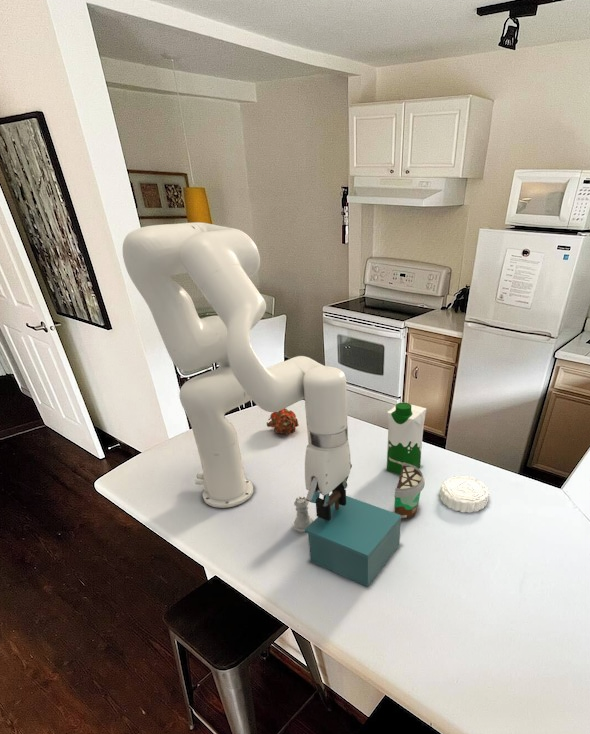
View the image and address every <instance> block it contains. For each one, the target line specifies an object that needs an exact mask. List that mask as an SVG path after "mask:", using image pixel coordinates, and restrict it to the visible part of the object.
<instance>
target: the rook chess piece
mask: <svg viewBox="0 0 590 734" xmlns="http://www.w3.org/2000/svg"><path fill="white" fill-rule="evenodd" d="M309 503H310V502H309V501H306V496H298V497H296V498H295V500H294V502H293V505H294V506H295V510H296V516H295V519H294V521H293V524H294V525H293V528H294V529H295V530H296V532H299V533H305V529H306V528H307V527H308V526H309V525H310V524H311V523H312V522H313V521H314V520H313V519H312V518H311V516H310V515H309V511H308V510H309V507H308V505H309Z"/></svg>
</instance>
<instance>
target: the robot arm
mask: <svg viewBox="0 0 590 734" xmlns="http://www.w3.org/2000/svg"><path fill="white" fill-rule="evenodd" d="M122 258H123V263H124V266H125V269H126V272H127V274H128V276H129V278H130V280H131V282H132V284H133V285H134V286H135V288H136V290H137V291H138V292H139V294H140V295H141V297H142V298H143V300H144V302H145V303H146V305H147V306H148V309H149V310H150V312H151V315H152V319H153V320H154V323H155V325H156V328H157V330H158V332H159V335H160V337H161V339H162V341H163V344H164V347H165V349H166V352H167V353H168V356H169V358H170V360H171V361H172V363H173V365H174V366H175V367H176V368H177V369H179V370H180V371H183V372H191V371H195V370H199V369H201V368H204V367H207V366H210V365H213V364H216V363H217V365H218V368H215V369H213V370H209V371H207V372H204V373H201V374H199V375H196V376H194V377H192V378H190V379H189V380H187V381H186V382H184V383H183V384H182V385H181V387H180V389H179V393H178V396H179V397H178V398H179V400H180V404H181V406H182V408H183V410H184V412H185V415H186V416H187V419H188V421H189V424H190V427H191V430H192V433H193V437H194V441H195V445H196V449H197V452H198V456H199V460H200V464H201V469H202V471H198V472H196V475H195V476H196V477H195V478H196V479H195V480H194V483H195V485H198V486H202V487H203V490H202V492H201V493H202V494H201V495H202V499H203V501H204V503H205V504H207V505H208V506H210V507H213V508H219V509H220V508H221V509H226V508H232V507H236V506H239V505H241V504H243V503H246V502H247V501H248V500H249V499H250V498H251V497H252V495H253V493H254V484H253V483H252V481H250V479H248V478H246V475H245V470H244V464H243V459H242V454H241V453H242V452H241V447H240V443H239V438H238V437H239V436H238V433H237V429H236V427H235V425H234V424H233V423H232V422H231V421H230V420H229V419H227V418H226V413H229V412H230V411H232V410H234V409H236V408H238V407H241V406H243V405H244V404H247V403H248V402H250V401H252V402H253V403H254V404H255V405H256V406H257V407H259V408H260V409H261V410H263V411H264V412H268V413H273V412H278V411H280V410H283V409H287V408H288V407H291V406H292V405H294V404H296V403H298V402H300V401H304V407H305V408H304V409H305V421H306V433H307V443H308V444H307V445H306V448H305V455H304V484H305V489H306V491H307V493H306V496H305V498H306V501H308V502H309V503H311V504H315V511H316V517H320V518H322V519H325V520H327V521H329V520H330V519H331V510H330V504H328V500H329V496H330V494H332V493H333V492H334V491H335V490H338V491H339V492H340V493H341V497H340V498H339V504H340V505H343V506H345V505H346V496H347V490H346V489H347V488H348V482H347V481H348V479H349V477H350V475H351V470H352V468H353V464H352V462H351V449H350V442H349V429H348V427H349V425H348V424H349V423H348V388H347V386H348V385H347V383H348V382H347V376H346V374H345V372H344V370H342V369H340V368H338V367H335V366H328V365H325V364H322V363H319V362H317V360H314V359H313V358H311V357H308V356H305V355H297V356H294V357H292V358H291V357H290V358H289V359H286V360H285V361H281V362H278V363H276V364H273V365H271V366H269V367H265V365H264V363H262V362H261V360H260V358H259V357H258V355H257V354H256V351H254V348H253V345H252V342H251V330H252V329H254V327H255V326H256V325H257V324H258V323H259V322H260V321H261V319H262V318H263V317H264V315H265V313H266V311H267V302H266V300H265V298H264V297H263V295H262V294H261V293H260V292H259V290H258V288H257V287H256V285H255V284H254V282H253V281H252V280H251V279H250V278H252V277H254V276H255V275H256V274H257V273H258V272H259V270H260V266H261V255H260V252H259V249H258V247H257V245H256V243H255V241H254V240H253V239H252V238H251V236H250V235H248V234H247V233H246V232H244V231H243V230H241V229H238V228H235V227H234V228H233V227H230V226H223V225H217V224H212V223H207V222H200V221H197V222H194V221H193V222H181V223H168V224H167V223H165V224H152V225H147V226H142V227H139V228H136V229H133V230H132V231H130V232H128V233H127V235H126V236H125V238H124V239H123V242H122ZM184 274H188V276H189V277H190V278H191V280H192V281H193V283H194V285H196V287H197V288H198V289H199V291H200V293H201V294H202V295H203V296H204V299H206V301H207V302H208V303H209V305H210V306H211V308H212V309H213V311H214V312H215V313H216V314H217V315H211V316H206V317H202V318H200V316H199V314H198V311H197V310H196V307H195V304H194V302H193V299H192V297H191V295H190V294H189V293H188V291H187V290H185V289H184V287H183V286H181V285H180V283H178V282H177V281H175V280H174V279H173V278H172V276H176V275H184ZM320 495H322V497H323V498H321V497H320Z"/></svg>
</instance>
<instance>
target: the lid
mask: <svg viewBox="0 0 590 734" xmlns="http://www.w3.org/2000/svg"><path fill="white" fill-rule="evenodd" d="M340 497H341V493H340V492H339V491H338V490H335V491H334V492H333V493H332V492H331V493H330V494H329V500H328V504H330V510H331V519H330V520H329V521H327V520H325V519H322V518H320V517H318V516H316V518H315V519H314V520H312V521H313V522H312V523H311V524H310V525H309V526H308V527H307V528H306V529H305V532H304V533H305V534H307V535H308V534H310V535H312V536H315V537H317V538H320V539H322V540H324V541H327V542H329V543H332V544H334V545H336V546H339V547H341V548H344V549H346V550H349V551H351V552H353V553H356V554H358V555H361V556H363V557H366V558H369V557H370V555H371V554H372V553H373V552H374V550H375V549H376V548H377V547H378V546H379V544H380V543H381V542H382V541H383V539H384V538H385V537H386V536H387V535H388V533H389V532H390V531H391V530H392V528H393V527H394V526H395V525H396V524H397V522H398V521H399V520H400V519H401V515H399V514H396V513H395V511H394V512H393V511H391V510H388V509H385V508H383V507H379V506H376V505H373V504H371V503H368V502H365V501H363V500H360V499H357V498H353V497H351V496H348V495H346V505H345V506H343V505H340V504H339V498H340Z"/></svg>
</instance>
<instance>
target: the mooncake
mask: <svg viewBox="0 0 590 734" xmlns="http://www.w3.org/2000/svg"><path fill="white" fill-rule="evenodd" d="M439 496H440V501H441V502H442V504H444V505H445V506H447V508H449V509H452V510H453V511H456V512H458V511H459V512H460V513H469V514H470V513H473V512H475V513H477V512H479V510H483V509H484V508H485V507H487V505H488V501H489V497H490V491H489V487H488V486H486V484H485V483H484V482H482V481H481V480H479V479H476V478H475V477H473V476H472V477H471V476H466V475H464V476H462V475H457V476H451V477H450V478H446V479H445V480H444V481H442V484H441V486H440V492H439Z"/></svg>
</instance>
